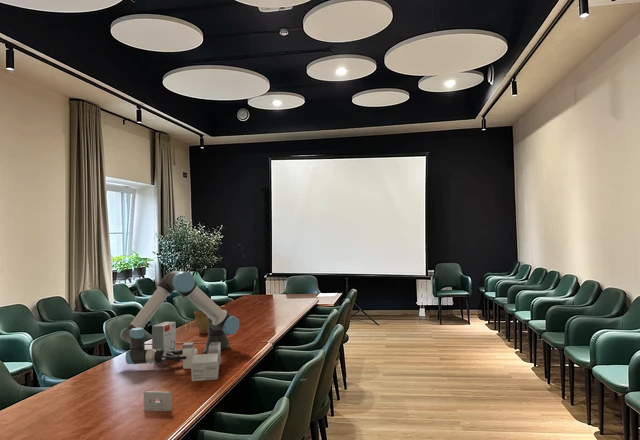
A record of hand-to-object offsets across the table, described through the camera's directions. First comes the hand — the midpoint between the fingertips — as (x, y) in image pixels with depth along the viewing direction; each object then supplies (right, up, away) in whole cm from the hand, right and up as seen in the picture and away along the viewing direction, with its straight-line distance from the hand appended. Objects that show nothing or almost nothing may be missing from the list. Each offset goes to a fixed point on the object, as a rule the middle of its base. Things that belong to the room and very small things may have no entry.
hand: (195, 354), depth 265 cm
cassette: (+2, -5, -66) cm, 66 cm away
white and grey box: (-1, -7, 0) cm, 7 cm away
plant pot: (-18, -11, +96) cm, 98 cm away
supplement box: (+10, -7, -18) cm, 21 cm away
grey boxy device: (+9, -7, 0) cm, 11 cm away
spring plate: (+6, -7, 0) cm, 9 cm away
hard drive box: (-25, -9, +25) cm, 37 cm away
